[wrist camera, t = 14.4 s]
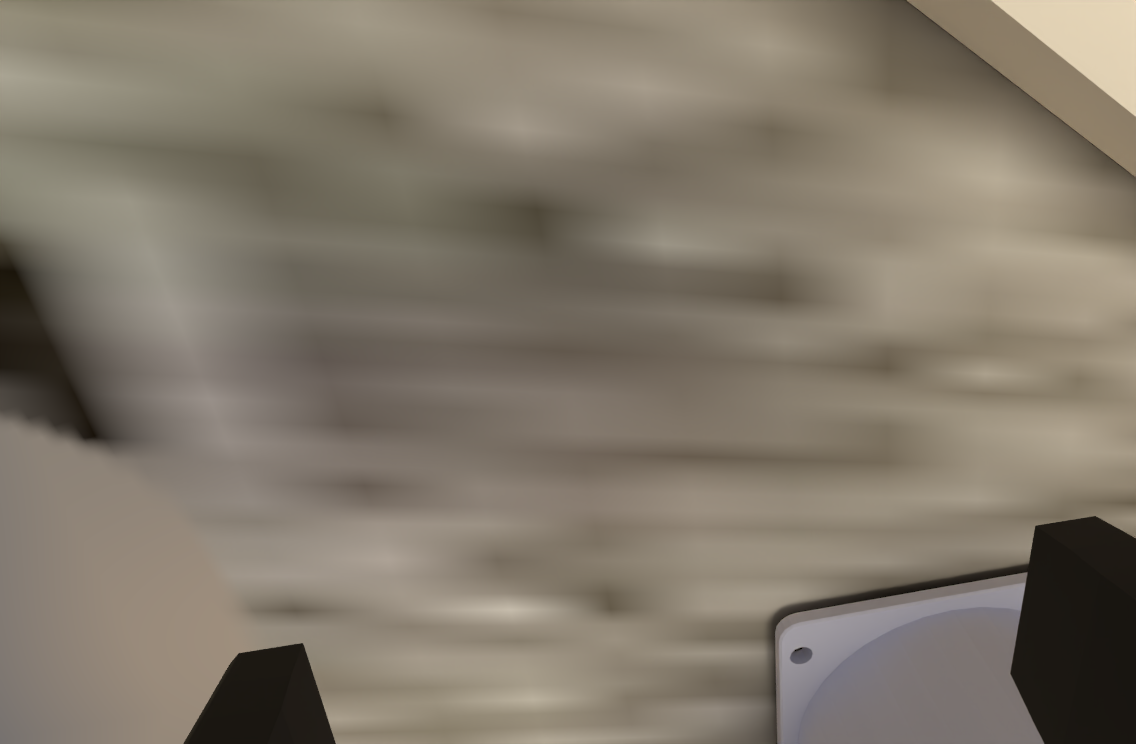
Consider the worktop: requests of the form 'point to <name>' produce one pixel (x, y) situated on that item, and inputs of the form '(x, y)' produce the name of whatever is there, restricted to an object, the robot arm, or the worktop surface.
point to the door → (1059, 59)
